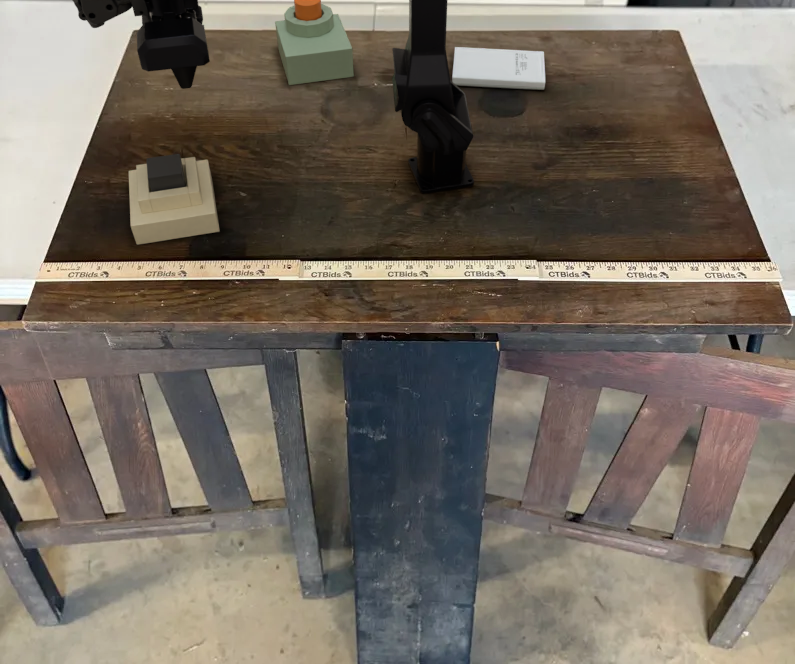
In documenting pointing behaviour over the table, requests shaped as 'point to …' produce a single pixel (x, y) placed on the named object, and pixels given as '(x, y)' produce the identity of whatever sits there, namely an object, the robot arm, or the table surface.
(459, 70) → the hard drive
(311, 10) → the far key
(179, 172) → the near key
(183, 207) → the stepped pyramid pedestal
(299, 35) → the far pedestal
